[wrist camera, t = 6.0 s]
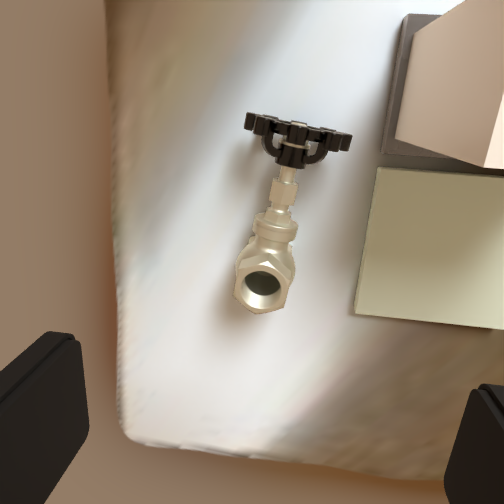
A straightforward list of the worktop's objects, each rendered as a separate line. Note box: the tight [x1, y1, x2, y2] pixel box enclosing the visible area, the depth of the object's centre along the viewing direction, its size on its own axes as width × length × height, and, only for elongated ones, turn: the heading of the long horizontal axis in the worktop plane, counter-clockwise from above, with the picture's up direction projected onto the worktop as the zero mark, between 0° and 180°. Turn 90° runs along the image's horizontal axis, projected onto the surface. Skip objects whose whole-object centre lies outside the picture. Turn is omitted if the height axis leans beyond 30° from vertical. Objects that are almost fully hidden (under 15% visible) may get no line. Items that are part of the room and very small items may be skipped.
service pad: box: [354, 167, 504, 330], centre depth 28 cm, size 11×11×1 cm
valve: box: [233, 112, 352, 314], centre depth 26 cm, size 7×7×12 cm
